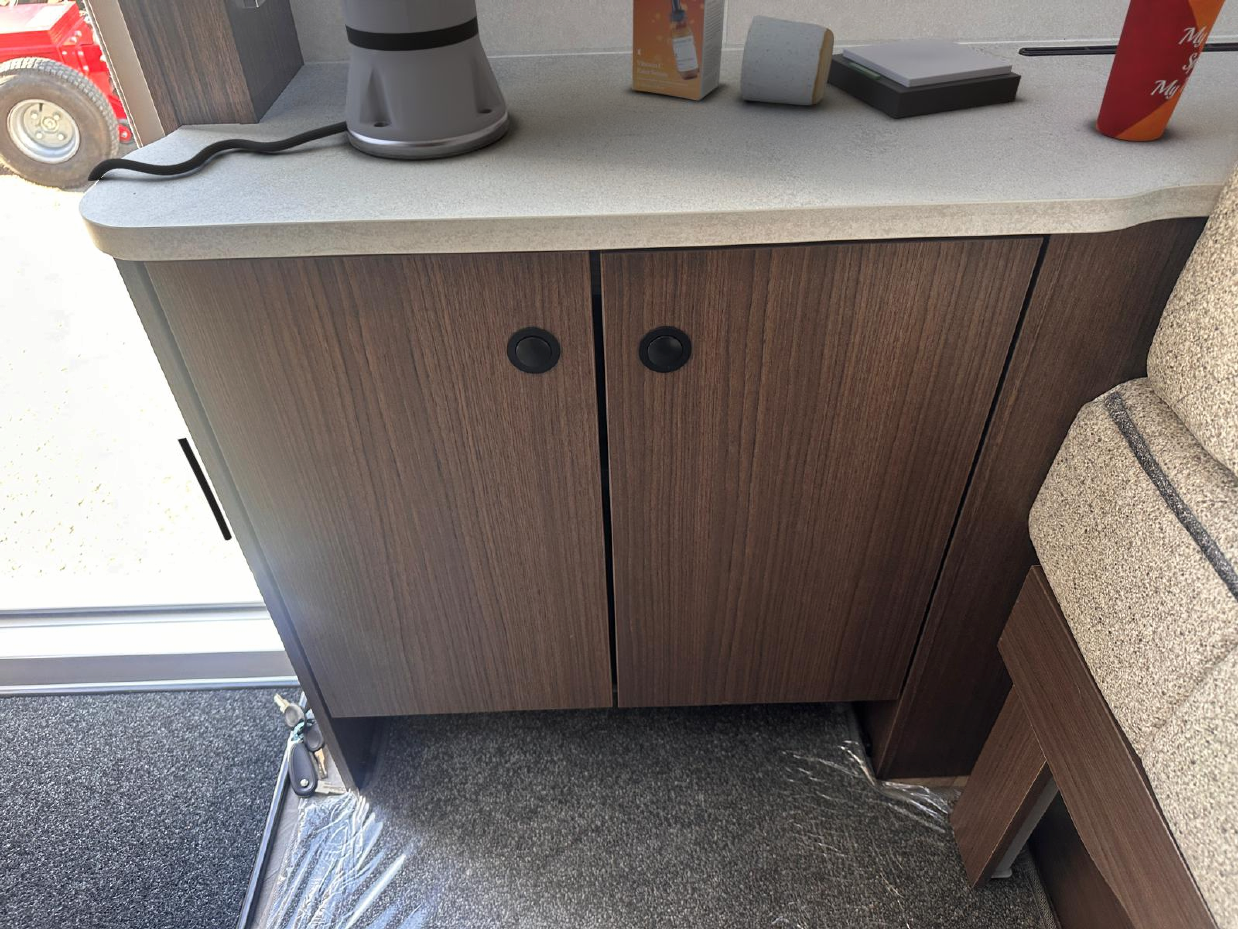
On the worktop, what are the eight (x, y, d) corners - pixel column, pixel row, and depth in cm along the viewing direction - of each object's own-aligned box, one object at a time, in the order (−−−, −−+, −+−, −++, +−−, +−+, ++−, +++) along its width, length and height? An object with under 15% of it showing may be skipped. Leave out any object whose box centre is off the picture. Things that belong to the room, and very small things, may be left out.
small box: (631, 91, 89) (630, -21, 82) (653, 77, 93) (654, -32, 86) (700, 101, 86) (705, -15, 79) (720, 86, 90) (727, -26, 83)
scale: (895, 118, 81) (902, 83, 79) (822, 78, 91) (826, 47, 89) (1014, 100, 84) (1024, 66, 82) (931, 64, 95) (937, 33, 92)
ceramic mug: (818, 116, 82) (830, 29, 77) (736, 109, 84) (742, 24, 79) (831, 86, 90) (842, 5, 85) (755, 80, 92) (762, 1, 87)
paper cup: (1170, 150, 73) (1244, -32, 64) (1076, 136, 77) (1134, -40, 67) (1179, 124, 78) (1249, -49, 69) (1090, 111, 82) (1147, -56, 72)
